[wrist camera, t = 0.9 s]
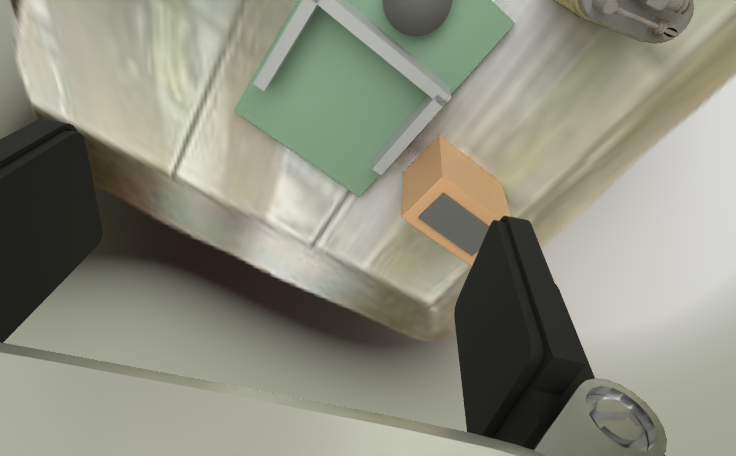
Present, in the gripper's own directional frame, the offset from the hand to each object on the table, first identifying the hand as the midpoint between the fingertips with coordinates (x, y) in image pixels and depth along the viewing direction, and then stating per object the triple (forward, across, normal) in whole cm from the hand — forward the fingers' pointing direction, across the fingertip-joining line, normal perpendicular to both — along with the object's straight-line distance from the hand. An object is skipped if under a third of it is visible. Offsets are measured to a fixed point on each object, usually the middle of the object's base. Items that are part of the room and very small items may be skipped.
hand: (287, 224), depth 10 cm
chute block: (+30, -10, +13) cm, 34 cm away
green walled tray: (+30, 0, +4) cm, 30 cm away
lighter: (+30, -15, -5) cm, 34 cm away
